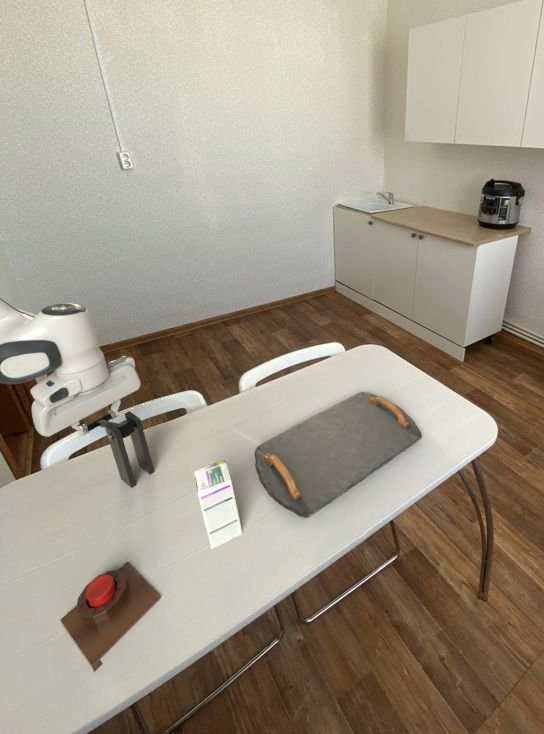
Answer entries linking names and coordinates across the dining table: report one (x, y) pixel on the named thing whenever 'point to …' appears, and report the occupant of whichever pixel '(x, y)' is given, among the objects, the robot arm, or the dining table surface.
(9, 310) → the robot arm
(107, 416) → the lever
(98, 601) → the button
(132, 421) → the bracket
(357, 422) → the serving tray
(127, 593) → the control block
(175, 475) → the dining table surface
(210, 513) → the syrup box
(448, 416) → the dining table surface
